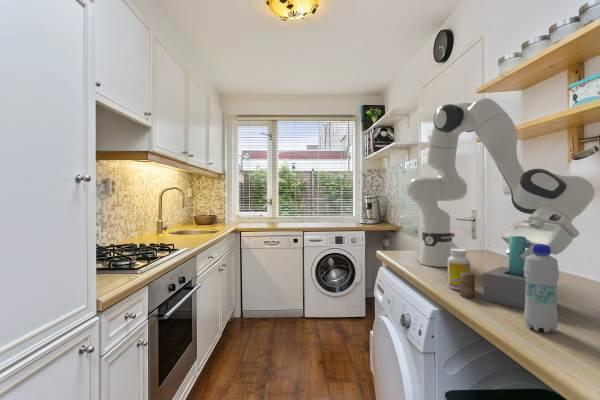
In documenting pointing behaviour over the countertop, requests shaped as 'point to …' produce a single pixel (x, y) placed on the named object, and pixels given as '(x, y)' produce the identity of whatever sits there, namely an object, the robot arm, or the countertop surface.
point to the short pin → (467, 285)
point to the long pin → (516, 255)
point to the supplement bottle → (457, 267)
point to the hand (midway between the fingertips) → (514, 256)
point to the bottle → (541, 289)
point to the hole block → (504, 288)
